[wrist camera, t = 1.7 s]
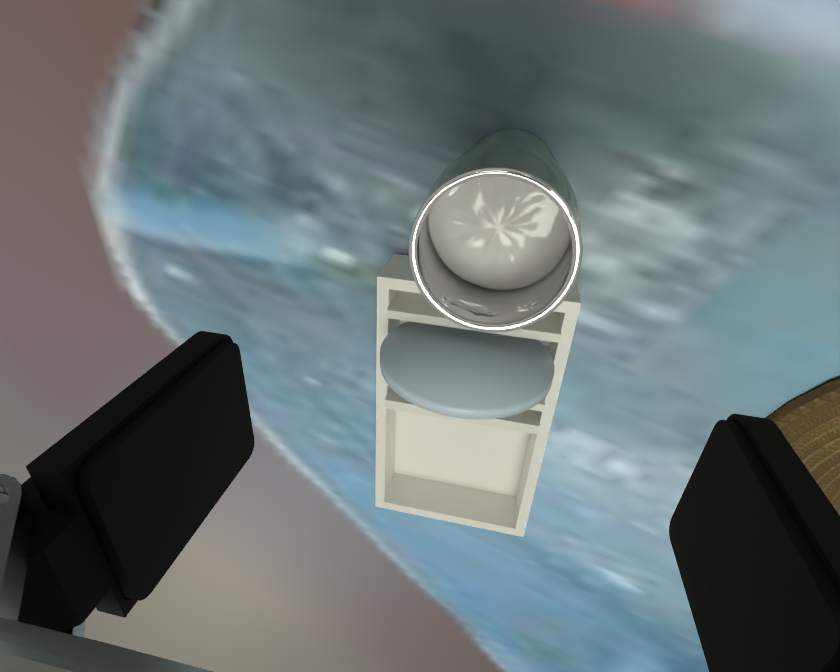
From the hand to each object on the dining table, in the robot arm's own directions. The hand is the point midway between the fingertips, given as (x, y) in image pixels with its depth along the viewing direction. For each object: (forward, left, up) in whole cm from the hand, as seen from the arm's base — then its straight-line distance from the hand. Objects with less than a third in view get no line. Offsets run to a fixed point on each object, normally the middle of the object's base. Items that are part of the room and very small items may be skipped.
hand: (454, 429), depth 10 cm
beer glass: (0, 0, -25) cm, 25 cm away
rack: (+17, -1, -25) cm, 30 cm away
